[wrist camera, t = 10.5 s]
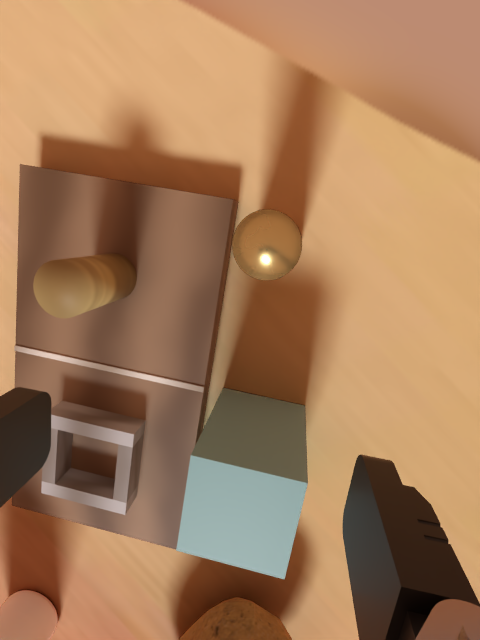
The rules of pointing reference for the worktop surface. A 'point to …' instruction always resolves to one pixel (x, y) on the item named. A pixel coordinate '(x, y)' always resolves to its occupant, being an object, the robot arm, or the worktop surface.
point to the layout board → (118, 342)
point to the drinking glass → (27, 617)
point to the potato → (237, 623)
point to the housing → (246, 484)
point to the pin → (267, 244)
